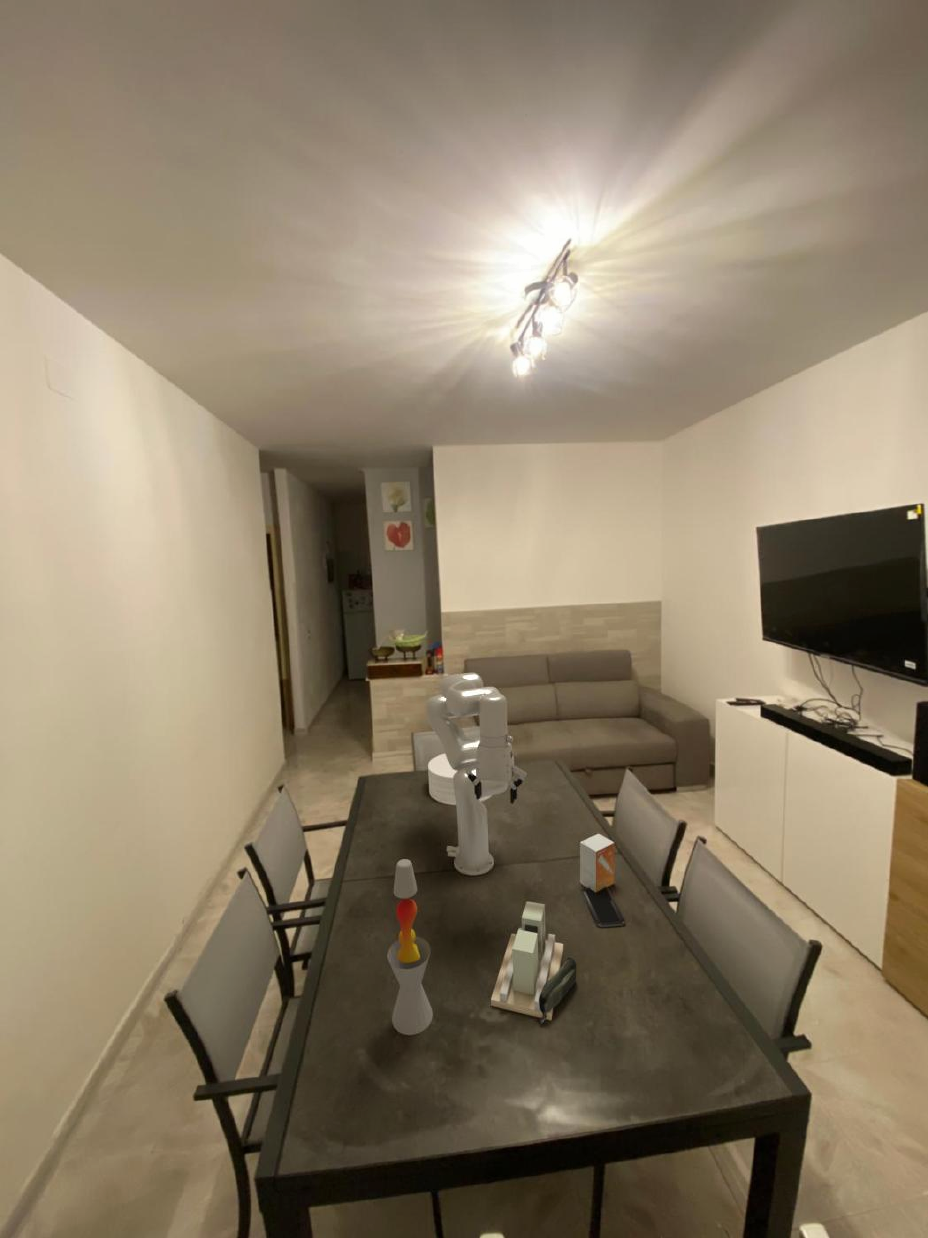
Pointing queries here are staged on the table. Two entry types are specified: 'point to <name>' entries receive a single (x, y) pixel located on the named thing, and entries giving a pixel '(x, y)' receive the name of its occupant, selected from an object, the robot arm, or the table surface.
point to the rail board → (547, 966)
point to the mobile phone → (557, 987)
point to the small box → (597, 862)
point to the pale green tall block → (525, 962)
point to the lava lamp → (409, 959)
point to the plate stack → (442, 780)
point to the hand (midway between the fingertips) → (495, 799)
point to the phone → (603, 908)
